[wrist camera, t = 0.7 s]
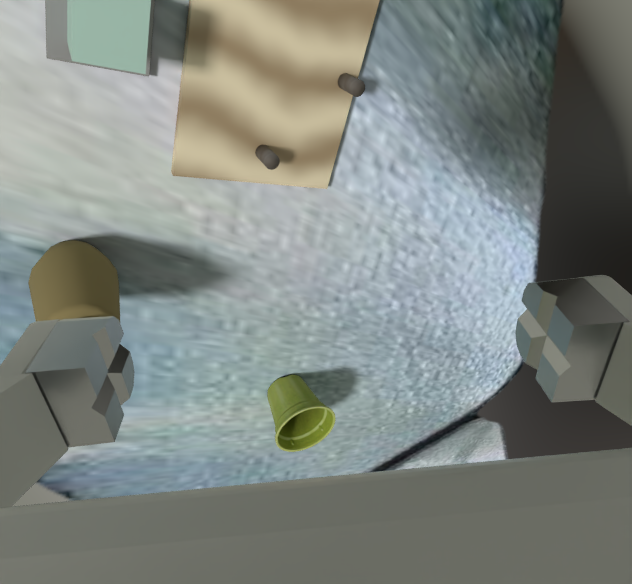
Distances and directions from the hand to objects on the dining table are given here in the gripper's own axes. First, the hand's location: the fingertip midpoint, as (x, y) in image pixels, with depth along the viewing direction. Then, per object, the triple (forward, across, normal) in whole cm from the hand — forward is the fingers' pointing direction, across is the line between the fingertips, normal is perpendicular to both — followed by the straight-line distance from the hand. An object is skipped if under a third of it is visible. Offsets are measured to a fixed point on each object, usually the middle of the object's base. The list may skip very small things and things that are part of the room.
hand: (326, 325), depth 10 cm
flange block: (+40, +15, -4) cm, 43 cm away
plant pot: (+50, +4, +48) cm, 69 cm away
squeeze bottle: (+39, +24, +18) cm, 49 cm away
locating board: (+45, +1, +1) cm, 45 cm away
